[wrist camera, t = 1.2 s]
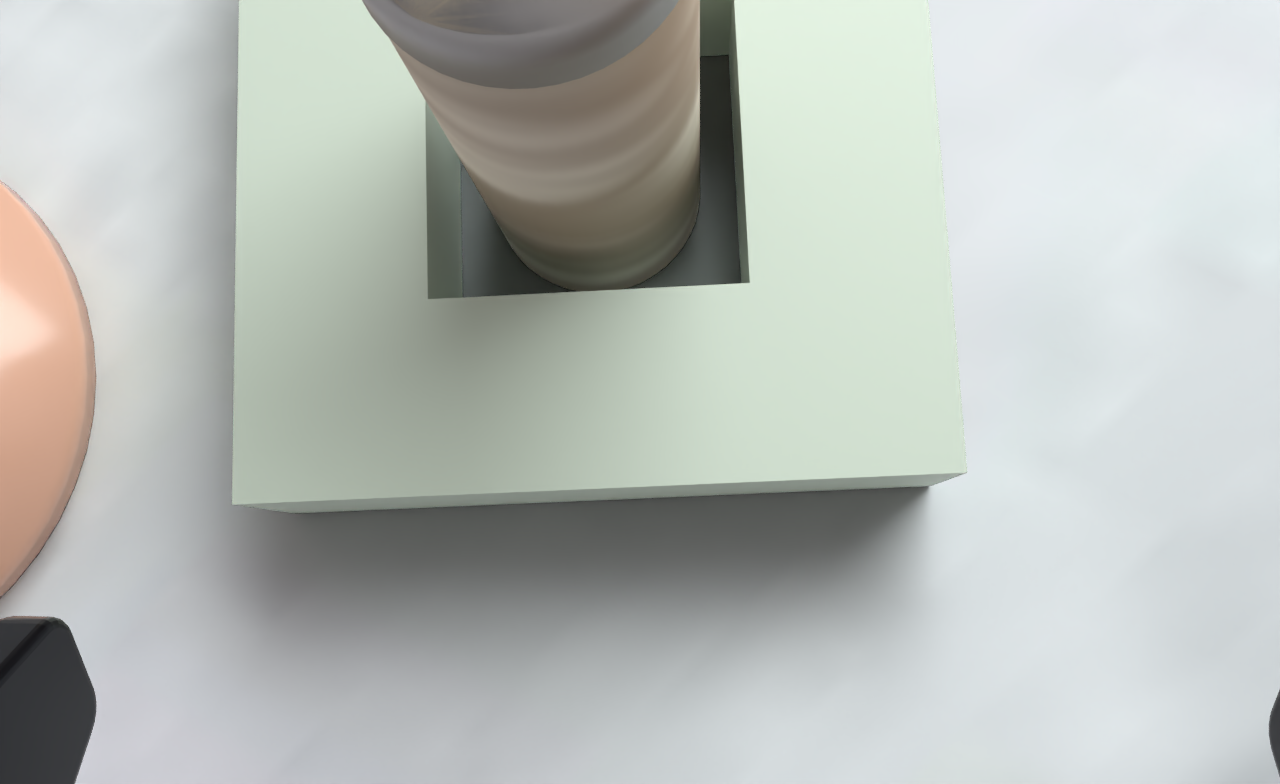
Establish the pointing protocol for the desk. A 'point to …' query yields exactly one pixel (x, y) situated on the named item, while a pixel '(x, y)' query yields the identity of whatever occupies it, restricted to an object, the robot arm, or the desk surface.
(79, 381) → the terracotta coaster
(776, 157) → the socket block
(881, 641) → the desk surface
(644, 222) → the beige cylinder
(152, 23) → the desk surface
